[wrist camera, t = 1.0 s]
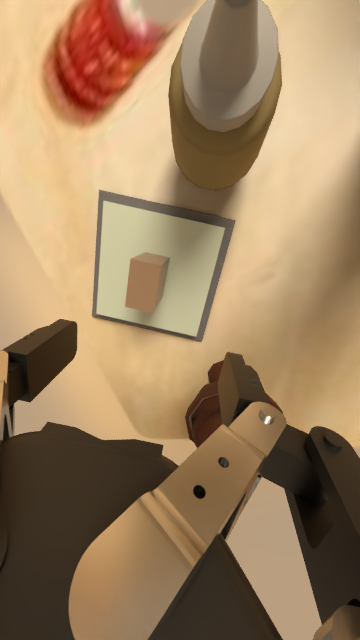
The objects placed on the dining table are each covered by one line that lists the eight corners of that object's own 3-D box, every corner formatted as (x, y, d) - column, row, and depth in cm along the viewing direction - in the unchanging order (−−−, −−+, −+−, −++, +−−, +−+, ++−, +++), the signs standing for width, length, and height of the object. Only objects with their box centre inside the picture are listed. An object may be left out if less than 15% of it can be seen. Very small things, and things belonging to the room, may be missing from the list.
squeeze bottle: (250, 193, 25) (342, 128, 8) (177, 196, 26) (131, 143, 9) (258, 98, 22) (423, -292, 5) (175, 105, 23) (99, -215, 6)
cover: (106, 201, 26) (75, 193, 20) (224, 227, 26) (231, 228, 20) (99, 311, 32) (72, 332, 25) (196, 333, 32) (194, 360, 25)
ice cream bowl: (196, 406, 37) (191, 512, 23) (186, 346, 33) (173, 432, 19) (263, 402, 36) (300, 514, 22) (261, 339, 32) (305, 427, 18)
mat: (100, 190, 26) (99, 189, 26) (234, 220, 26) (235, 220, 26) (93, 315, 33) (92, 316, 32) (201, 340, 32) (201, 341, 32)
